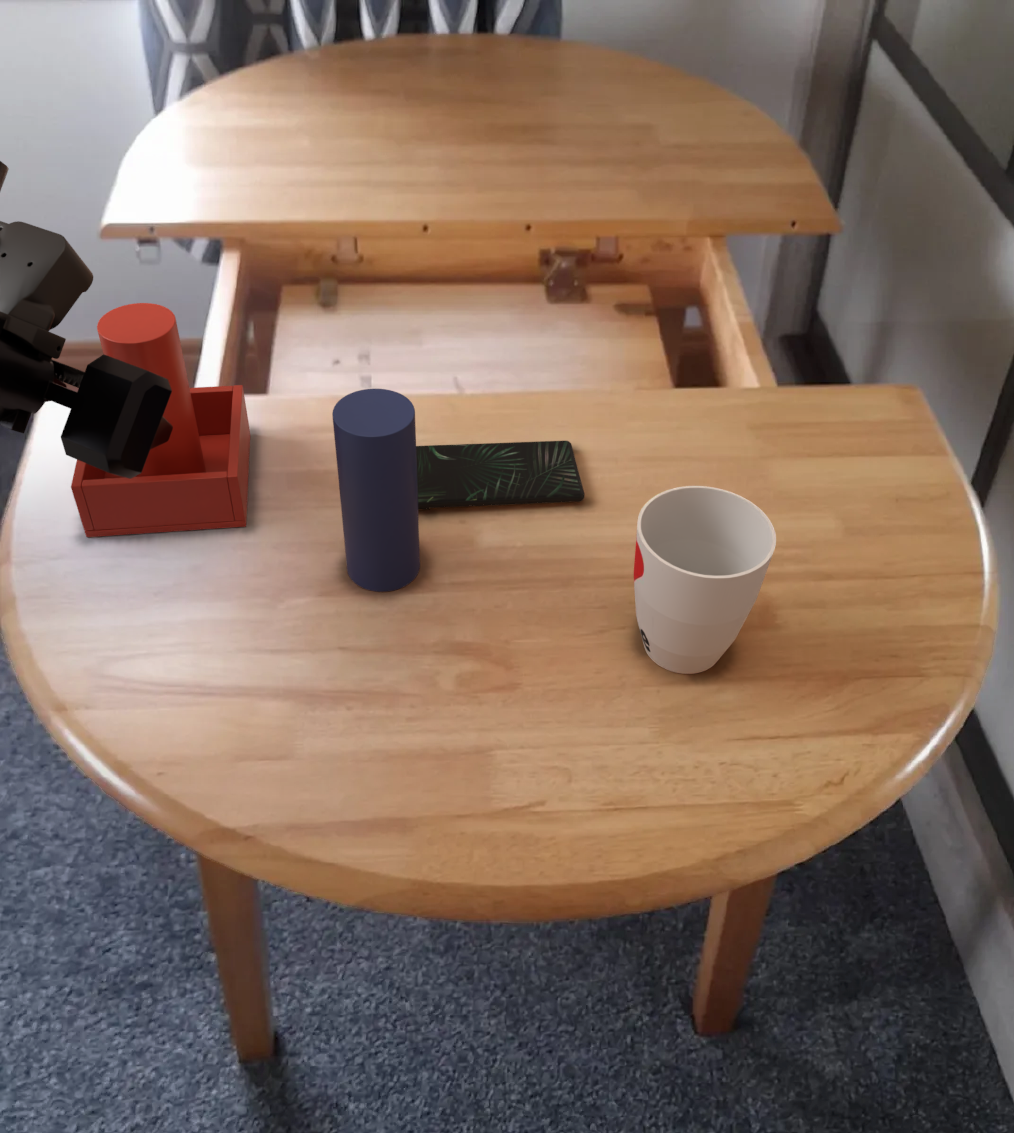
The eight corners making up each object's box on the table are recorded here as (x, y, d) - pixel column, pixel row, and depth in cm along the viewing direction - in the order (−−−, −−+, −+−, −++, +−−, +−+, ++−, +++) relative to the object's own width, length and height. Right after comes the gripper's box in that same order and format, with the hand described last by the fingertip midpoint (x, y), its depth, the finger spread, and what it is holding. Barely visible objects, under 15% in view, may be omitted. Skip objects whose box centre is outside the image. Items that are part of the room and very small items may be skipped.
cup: (652, 584, 76) (672, 469, 69) (764, 630, 73) (796, 516, 67) (598, 659, 71) (613, 543, 64) (716, 712, 68) (745, 597, 61)
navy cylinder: (334, 581, 76) (318, 425, 67) (365, 535, 79) (353, 381, 70) (403, 599, 75) (395, 444, 66) (430, 552, 78) (427, 398, 69)
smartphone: (585, 495, 81) (379, 504, 80) (584, 505, 82) (379, 514, 80) (570, 438, 86) (375, 445, 85) (569, 448, 87) (376, 456, 85)
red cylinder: (151, 507, 80) (113, 351, 71) (126, 470, 83) (85, 315, 74) (217, 483, 82) (187, 328, 73) (189, 447, 85) (158, 295, 76)
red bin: (86, 537, 78) (70, 486, 75) (104, 442, 86) (91, 392, 83) (246, 526, 79) (237, 476, 76) (250, 433, 87) (242, 384, 84)
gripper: (113, 248, 56) (271, 338, 71) (-142, 164, 63) (52, 262, 77) (36, 454, 57) (209, 501, 71) (-210, 350, 63) (-4, 413, 78)
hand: (114, 412), depth 74 cm, fingers open, 9 cm apart
